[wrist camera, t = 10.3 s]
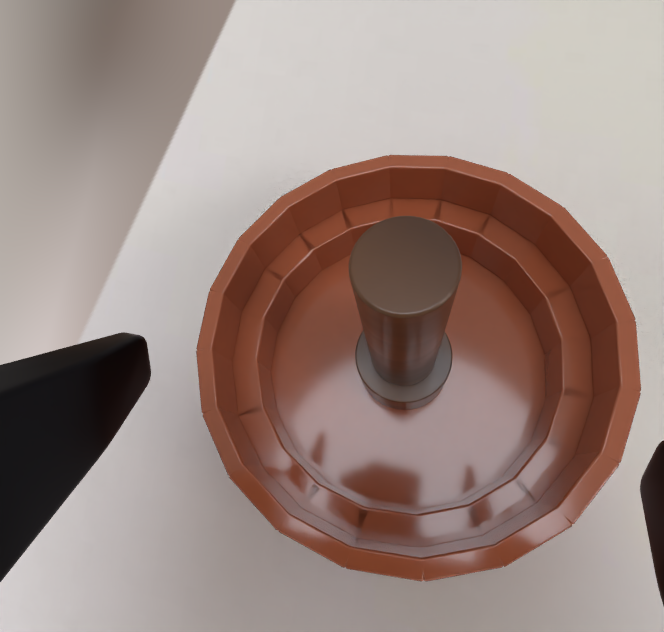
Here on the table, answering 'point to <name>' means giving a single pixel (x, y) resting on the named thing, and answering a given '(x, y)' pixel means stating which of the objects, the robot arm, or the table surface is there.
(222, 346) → the bowl
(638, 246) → the table surface
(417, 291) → the grey flanged cylindrical pin
